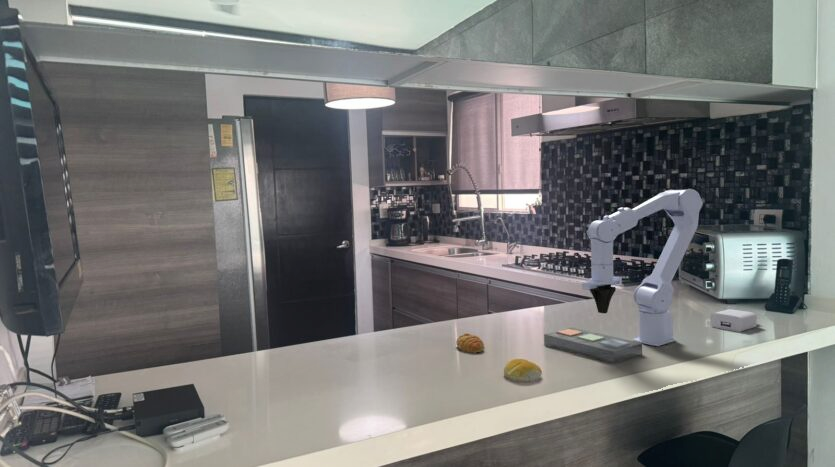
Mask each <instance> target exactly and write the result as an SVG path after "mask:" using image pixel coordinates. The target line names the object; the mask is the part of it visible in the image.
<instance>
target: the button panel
mask: <svg viewBox="0 0 835 467" xmlns="http://www.w3.org/2000/svg"><path fill="white" fill-rule="evenodd" d="M566 329H571V330H576V331H580V332H582V334H580V335H576V336H572V337H569V336H565V335H561V334H557V332H558V331H562V330H566ZM587 334H593V335H597V336H602V337H605V339H604V340H600V341H596V342H589V341H585V340H581V339H578V337H579V336H583V335H587ZM543 338H544V339H543V342H544V346H547V347H551V348H552V347H553V348H555V349H559V350H562V351H567V352H570V353H574V354H578V355H581V356H585V357H589V358H592V359H596V360H600V361H604V362H607V363H611V364H615V363H618V362H623V361H626V360H628V359H632V358H636V357H639V356H641V355H643V343H640V342H636V341H632V340H630V339H625V338H621V337H617V336H612V335H607V334H603V333H599V332H593V331H590V330H585V329H582V328H577V327H569V328H565V329H561V330H556V331H552V332H548V333H544V334H543ZM611 339H615V340H619V341H623V342H628V343H629V345H627V346H623V347H620V348H614V347H610V346H606V345H602V344H600V342H603V341H607V340H611Z"/></svg>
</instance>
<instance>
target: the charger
mask: <svg viewBox="0 0 835 467" xmlns="http://www.w3.org/2000/svg"><path fill="white" fill-rule="evenodd" d="M757 319H758V316H757V314H756V313H754V312H751V311H746V310H745V311H744V310H739V309H732V308H727V309H725V310H720V311H717V312H712V313H711V314H710V326H711V327H712V328H717V329H720V330H721V329H722V330H727V331H732V332H738V333H741V332H743V331H747V330H751V329H753V328H756V327H757V322H758V321H757Z"/></svg>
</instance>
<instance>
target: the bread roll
mask: <svg viewBox="0 0 835 467" xmlns="http://www.w3.org/2000/svg"><path fill="white" fill-rule="evenodd" d="M542 374H543V371H542V369H541V367H540V366H539V365H537V364H536V363H534V362H532V361H529V360H528V359H525V358H516V359H515V358H514V359H511V360H510V361H508V362H507V363H506V364H505V366H504V368H503V375H504V377H506V378H507V379H510V380H511V381H514V382H518V383H529V382H536V381H539V380H540V378H541V376H542Z"/></svg>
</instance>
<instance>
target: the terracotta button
mask: <svg viewBox="0 0 835 467" xmlns="http://www.w3.org/2000/svg"><path fill="white" fill-rule="evenodd" d="M565 329H566V330H564V329H561V330H562V331H560V330H557V331H558V332H557V334H561V335H565V336H569V337H572V336H576V335H580V334H582V332H580V331H576V330H571V329H568V328H565Z"/></svg>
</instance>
